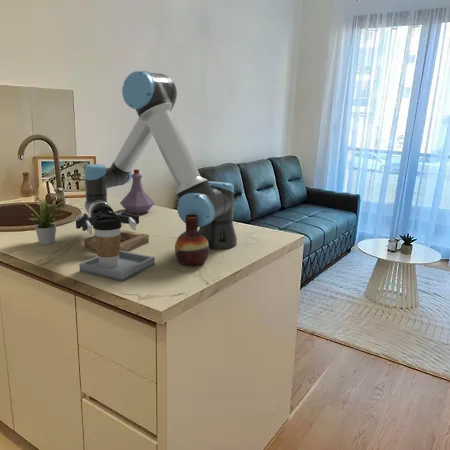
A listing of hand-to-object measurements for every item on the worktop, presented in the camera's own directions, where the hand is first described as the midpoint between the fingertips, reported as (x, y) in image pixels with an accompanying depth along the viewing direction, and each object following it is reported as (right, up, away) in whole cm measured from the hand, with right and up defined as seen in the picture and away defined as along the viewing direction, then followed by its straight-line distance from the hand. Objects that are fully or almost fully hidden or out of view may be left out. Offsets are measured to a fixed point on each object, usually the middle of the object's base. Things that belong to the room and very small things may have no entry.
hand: (113, 228), depth 133 cm
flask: (-7, +7, +71) cm, 71 cm away
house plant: (-28, -6, +21) cm, 36 cm away
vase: (+24, -11, +6) cm, 27 cm away
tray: (+2, -12, -1) cm, 12 cm away
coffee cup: (-1, -12, -1) cm, 12 cm away
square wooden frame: (-4, -6, +21) cm, 22 cm away
